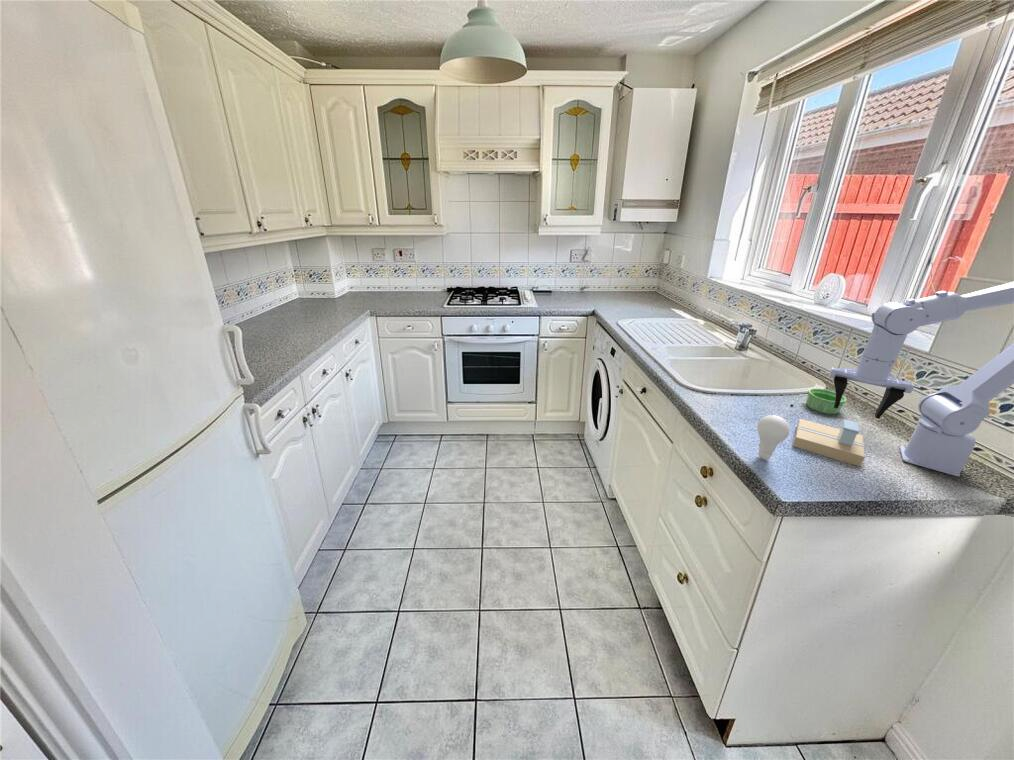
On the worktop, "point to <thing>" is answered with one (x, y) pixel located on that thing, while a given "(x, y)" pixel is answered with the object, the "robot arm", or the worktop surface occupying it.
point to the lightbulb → (771, 434)
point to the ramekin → (823, 401)
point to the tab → (848, 432)
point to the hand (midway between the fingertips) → (856, 411)
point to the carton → (827, 442)
